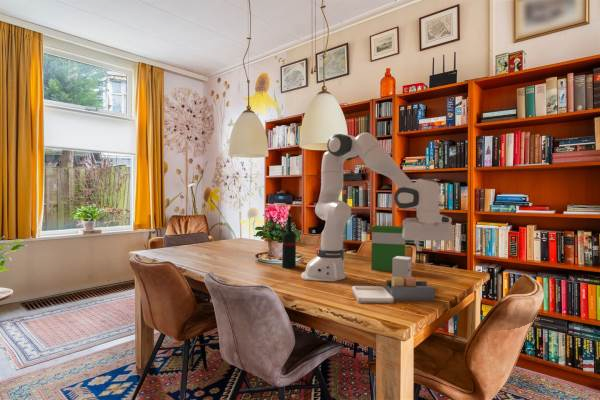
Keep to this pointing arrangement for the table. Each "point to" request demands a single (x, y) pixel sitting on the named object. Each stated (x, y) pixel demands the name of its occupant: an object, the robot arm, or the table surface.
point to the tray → (372, 294)
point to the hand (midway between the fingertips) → (427, 251)
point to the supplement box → (401, 266)
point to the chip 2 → (409, 281)
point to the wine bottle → (289, 246)
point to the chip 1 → (397, 281)
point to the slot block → (412, 292)
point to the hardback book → (386, 246)
